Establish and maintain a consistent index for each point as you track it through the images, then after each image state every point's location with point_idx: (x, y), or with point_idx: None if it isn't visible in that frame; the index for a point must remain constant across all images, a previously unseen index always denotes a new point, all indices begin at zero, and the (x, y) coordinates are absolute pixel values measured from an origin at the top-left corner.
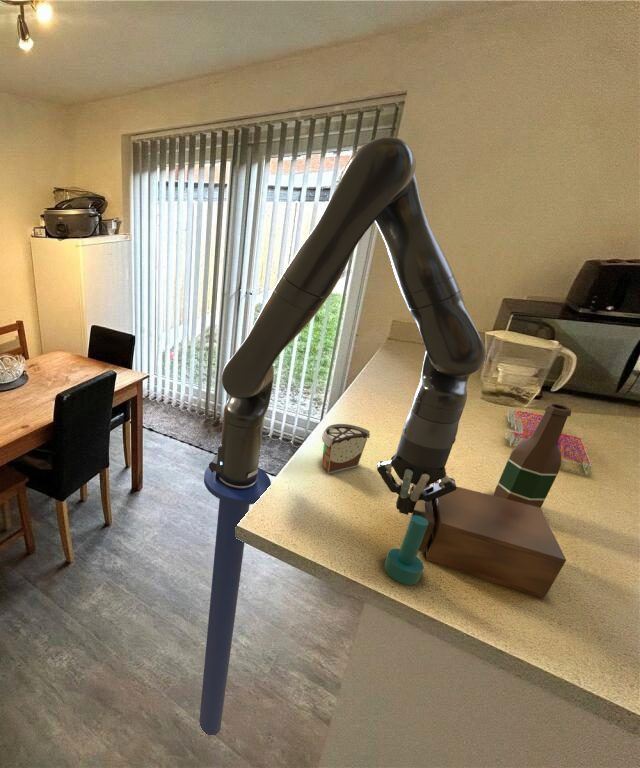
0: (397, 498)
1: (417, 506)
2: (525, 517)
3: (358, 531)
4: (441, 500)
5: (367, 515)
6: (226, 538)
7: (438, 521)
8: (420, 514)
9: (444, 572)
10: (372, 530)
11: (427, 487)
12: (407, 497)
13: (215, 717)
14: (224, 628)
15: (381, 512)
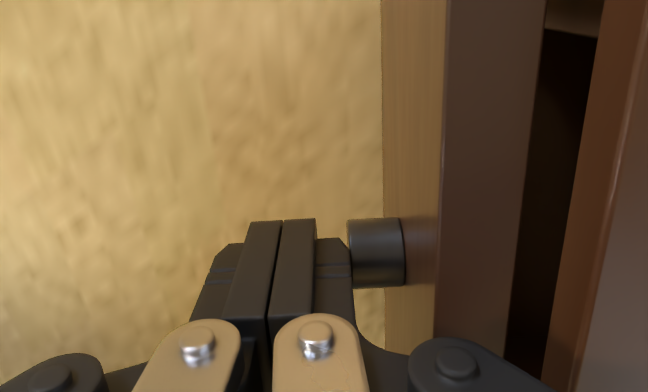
0: (203, 285)
1: (395, 79)
2: None
3: (127, 325)
4: (619, 381)
5: (123, 169)
6: None
7: (540, 88)
8: (404, 286)
9: None
10: (182, 283)
11: (511, 26)
12: (269, 389)
13: None
14: None
15: (187, 82)
